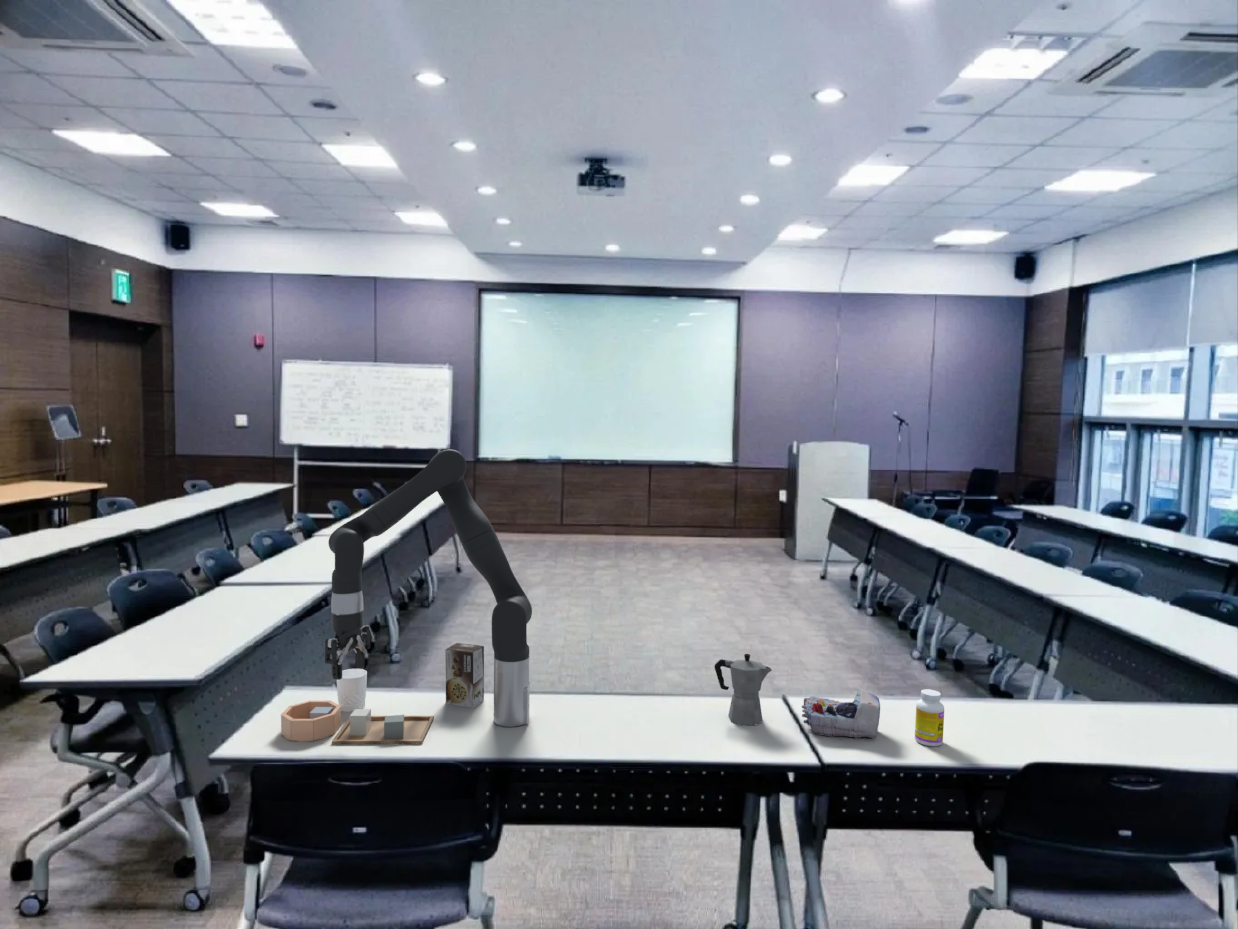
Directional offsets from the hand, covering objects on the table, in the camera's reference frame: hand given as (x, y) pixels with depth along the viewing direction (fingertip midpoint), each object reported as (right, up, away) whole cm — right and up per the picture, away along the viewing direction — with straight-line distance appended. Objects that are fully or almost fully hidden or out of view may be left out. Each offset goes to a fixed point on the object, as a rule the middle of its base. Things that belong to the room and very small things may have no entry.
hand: (348, 673), depth 190 cm
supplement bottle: (+146, -19, +5) cm, 147 cm away
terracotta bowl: (-11, -16, +3) cm, 19 cm away
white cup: (-6, -15, +19) cm, 25 cm away
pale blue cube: (-8, -15, +3) cm, 17 cm away
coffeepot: (+100, -17, +17) cm, 103 cm away
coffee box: (+24, -15, +24) cm, 37 cm away
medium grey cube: (+11, -16, +1) cm, 19 cm away
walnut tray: (+8, -16, +4) cm, 18 cm away
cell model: (+125, -18, +11) cm, 127 cm away
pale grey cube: (+2, -16, +3) cm, 16 cm away
